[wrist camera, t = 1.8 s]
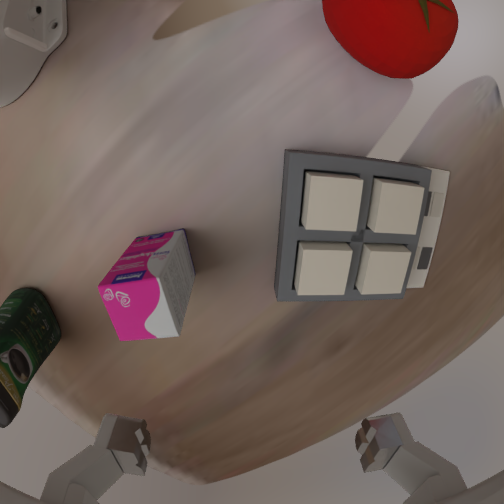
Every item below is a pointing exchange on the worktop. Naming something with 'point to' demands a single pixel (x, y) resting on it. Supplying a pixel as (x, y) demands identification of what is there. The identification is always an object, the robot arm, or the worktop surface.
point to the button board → (365, 170)
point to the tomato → (393, 33)
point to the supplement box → (150, 287)
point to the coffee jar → (23, 346)
